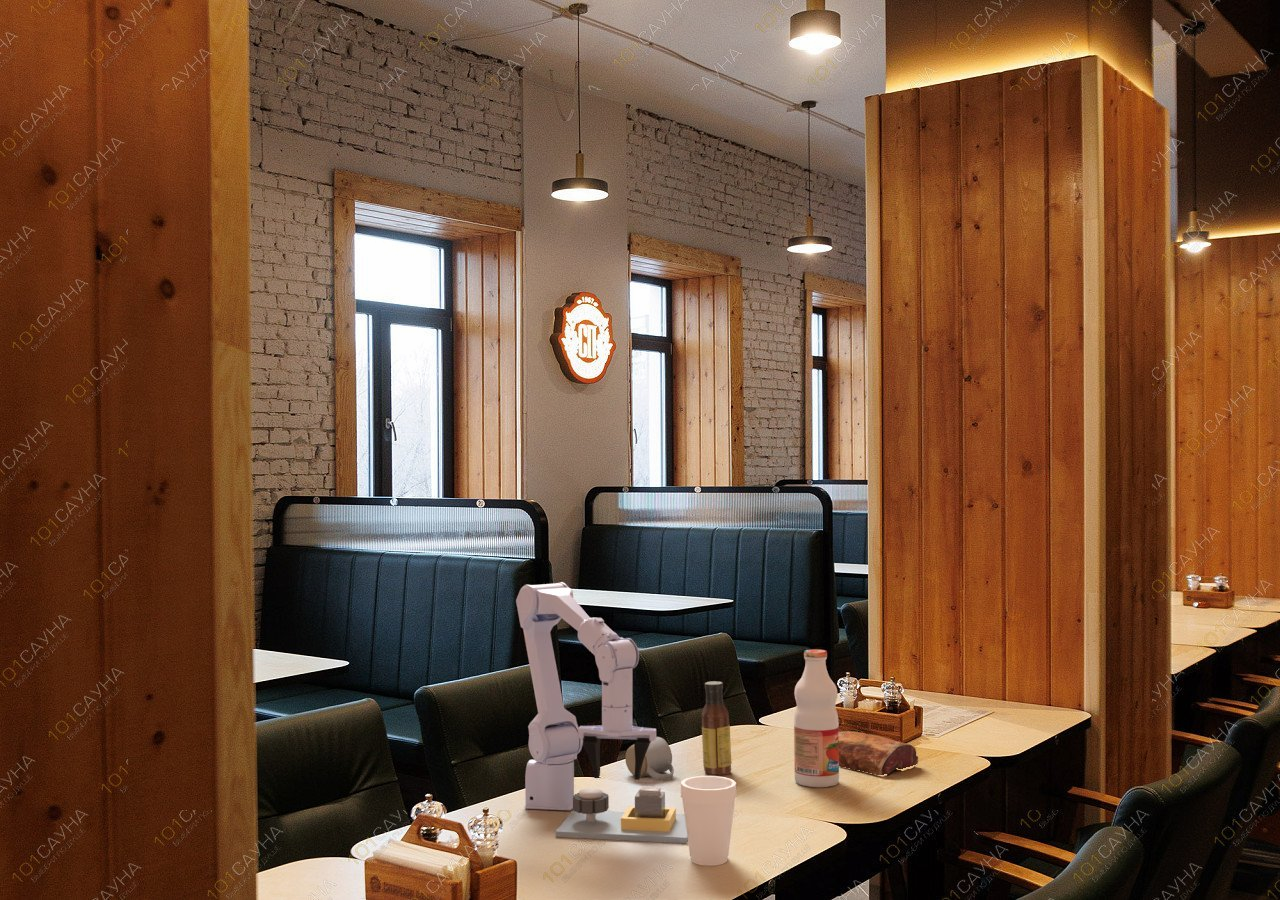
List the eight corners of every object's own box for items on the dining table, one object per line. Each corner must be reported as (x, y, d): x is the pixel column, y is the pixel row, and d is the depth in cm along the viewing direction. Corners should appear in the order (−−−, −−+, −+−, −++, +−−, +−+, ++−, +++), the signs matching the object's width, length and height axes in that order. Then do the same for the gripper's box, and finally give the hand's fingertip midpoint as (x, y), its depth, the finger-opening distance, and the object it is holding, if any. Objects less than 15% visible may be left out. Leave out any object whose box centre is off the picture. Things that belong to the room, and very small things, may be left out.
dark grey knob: (570, 813, 213) (570, 795, 213) (577, 803, 219) (577, 786, 219) (604, 814, 212) (603, 797, 212) (610, 804, 218) (610, 787, 218)
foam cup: (703, 847, 203) (703, 773, 204) (747, 857, 197) (746, 781, 198) (670, 861, 196) (670, 784, 196) (714, 872, 190) (714, 793, 190)
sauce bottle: (731, 769, 257) (731, 680, 258) (731, 776, 251) (730, 685, 252) (702, 768, 258) (701, 679, 258) (701, 776, 252) (700, 684, 252)
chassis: (555, 836, 209) (555, 818, 210) (573, 814, 223) (573, 797, 223) (686, 843, 205) (686, 824, 205) (696, 820, 219) (696, 802, 219)
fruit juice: (793, 776, 251) (792, 647, 252) (837, 777, 250) (836, 647, 251) (795, 787, 242) (794, 654, 242) (840, 788, 241) (839, 654, 241)
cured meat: (843, 745, 280) (842, 717, 280) (930, 764, 261) (929, 734, 261) (793, 759, 268) (793, 730, 268) (881, 780, 250) (880, 749, 250)
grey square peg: (635, 826, 212) (634, 791, 212) (638, 820, 216) (638, 785, 216) (661, 827, 211) (661, 792, 211) (665, 821, 215) (664, 786, 215)
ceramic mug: (622, 774, 253) (622, 739, 254) (649, 768, 259) (649, 733, 259) (655, 784, 246) (656, 748, 246) (683, 777, 251) (683, 742, 251)
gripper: (574, 707, 212) (574, 781, 212) (652, 710, 210) (652, 785, 210) (582, 700, 219) (582, 771, 219) (657, 702, 217) (658, 775, 217)
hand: (617, 777), depth 215 cm, fingers open, 7 cm apart
